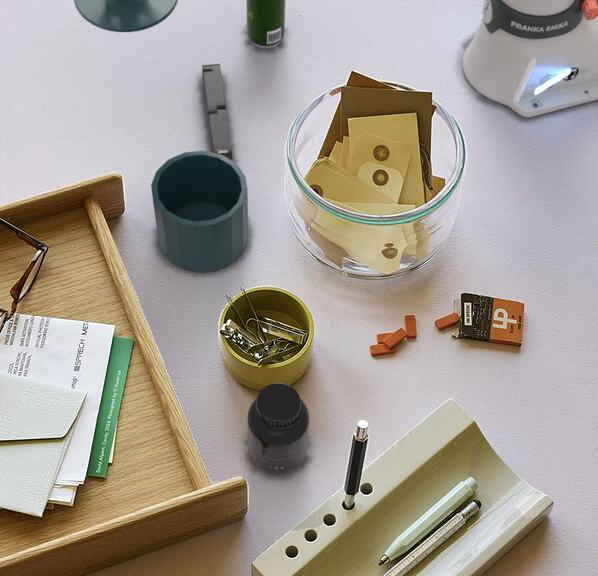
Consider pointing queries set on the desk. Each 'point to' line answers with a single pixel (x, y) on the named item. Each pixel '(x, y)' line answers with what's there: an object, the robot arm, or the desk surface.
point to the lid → (125, 13)
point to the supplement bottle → (278, 429)
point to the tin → (201, 210)
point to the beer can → (265, 22)
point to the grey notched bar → (216, 110)
